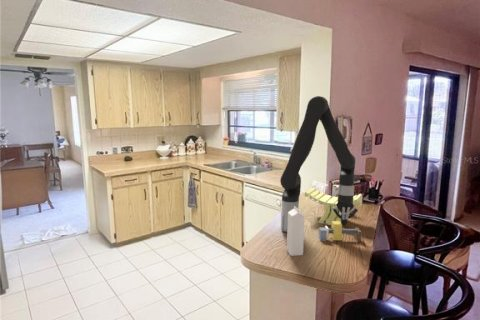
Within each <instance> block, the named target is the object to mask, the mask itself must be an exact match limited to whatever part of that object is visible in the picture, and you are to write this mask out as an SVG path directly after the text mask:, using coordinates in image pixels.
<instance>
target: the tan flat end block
mask: <svg viewBox="0 0 480 320" xmlns="http://www.w3.org/2000/svg"><path fill="white" fill-rule="evenodd" d="M354 229H356V230H357V234H353V238H354V239H355V241H356V242H358V243H361V242H362V234H363V233H362V231H360V230H361V229H360V228H359V226H358V227H354ZM359 229H360V230H359Z"/></svg>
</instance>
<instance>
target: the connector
mask: <svg viewBox="0 0 480 320" xmlns="http://www.w3.org/2000/svg"><path fill="white" fill-rule="evenodd" d="M326 234H327V230H326V229H325V227H318V239H319V241H322V242H326V241H327V236H326Z"/></svg>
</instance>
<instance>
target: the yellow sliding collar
mask: <svg viewBox="0 0 480 320" xmlns="http://www.w3.org/2000/svg"><path fill="white" fill-rule="evenodd" d="M330 229H333V233H330V237H331V239H332V241H342V229H343V226H342V224H341V222H340V221H332V225H330Z"/></svg>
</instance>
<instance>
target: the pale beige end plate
mask: <svg viewBox="0 0 480 320" xmlns="http://www.w3.org/2000/svg"><path fill="white" fill-rule="evenodd" d="M324 228H325V229H326V230H327V234H326V237H329V234H330V233H329V229H330V228H329V227H328V226H327V225H324Z"/></svg>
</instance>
